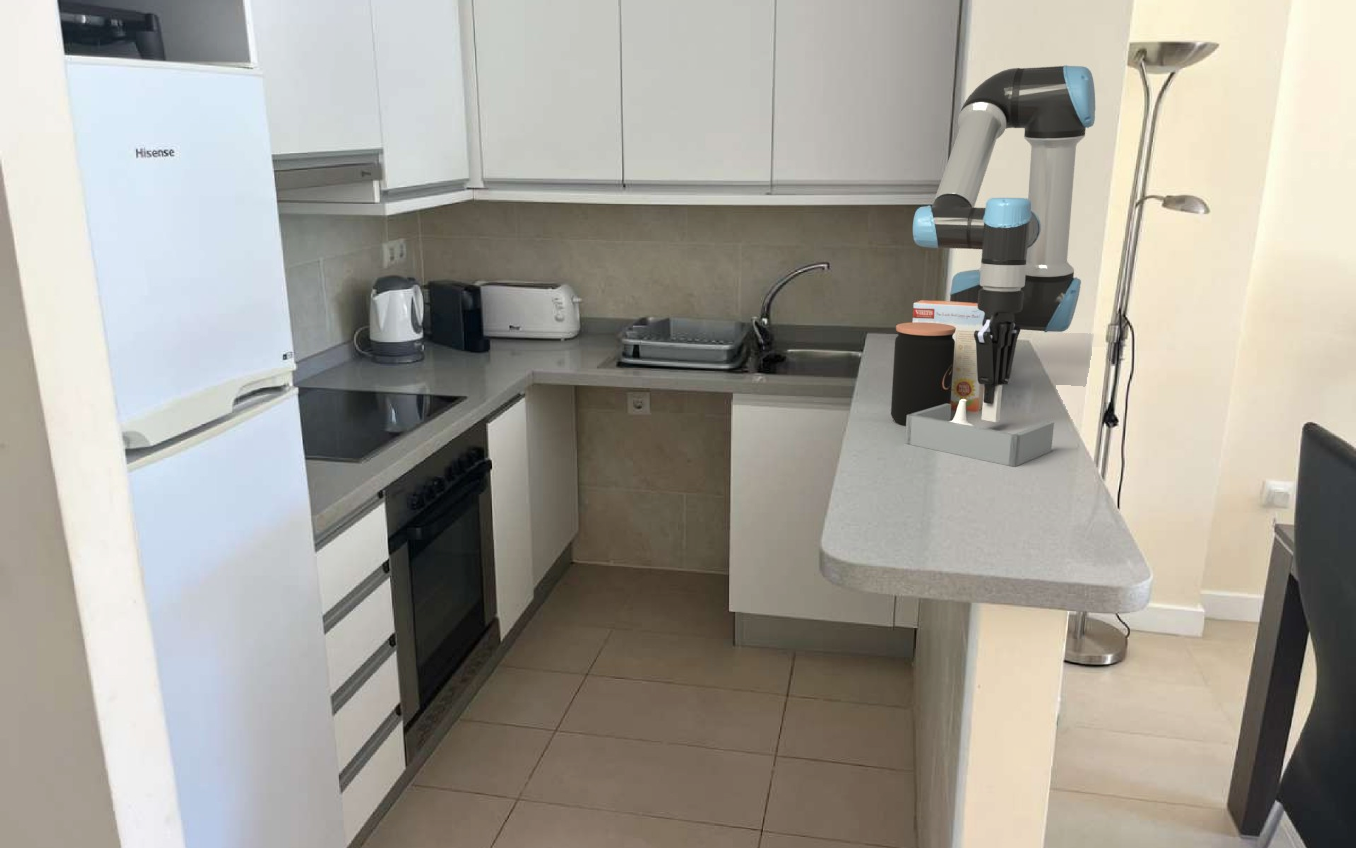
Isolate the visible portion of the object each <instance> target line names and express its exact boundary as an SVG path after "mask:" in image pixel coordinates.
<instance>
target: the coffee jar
mask: <svg viewBox="0 0 1356 848" xmlns="http://www.w3.org/2000/svg"><path fill="white" fill-rule="evenodd" d="M912 322H913V321H912ZM912 322H903V323H898V324H897V325H896V326H895V330H896V332H897V336H896V337H895V339H894V353H893V371H892V388H891V389H892V390H891V404H890V407H891V408H890V416H891V417H892V419H893V421H894V423H896V424H897V425H900V426H902V427H906V421H907V415H909V414H912V413H915V412H919V411H922V410H926V409H929V408H932V407H936V406H939V405H943V404H946V403H947V404H951V390H952V376H953V362H954V349H955V340H954V339H953V338H952V337H953V334H954V333H955V331H956V328H955V327H954V326H951V325H947V324H939V323H925V322H913V323H912Z"/></svg>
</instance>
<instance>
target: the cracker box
mask: <svg viewBox="0 0 1356 848" xmlns="http://www.w3.org/2000/svg"><path fill="white" fill-rule="evenodd" d="M977 306H978V303H967V302H952V301H950V300H949V301H947V300H928V299H927V300H926V299H925V300H924V299H920V300H918V301H915V302H914V303H913V305H912V307H913V308H912V309H913V311H912V322H911V323H913V322H925V323H939V324H947V325H951V326H954V327H955V328H956V331H955V333H954V334H953V337H952V338H953V339H954V340H955V349H954V362H953V376H952V390H951V410H957V407H958V404H959V401H960V400H961V399H965V400H967V401H966V410H967V411H966V412H968V411H969V412H975V413H976V412H977V413H978V412H980V411H981V410H982V407H983V394H984V384H979V382H978V377H977V354H976V342H975V338H974V332H975V331H980V330H981V329H982V328H983V326H982V322H983V319H984V315H985V313H984V311H981V310H979V309H978V307H977Z"/></svg>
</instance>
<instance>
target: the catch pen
mask: <svg viewBox="0 0 1356 848" xmlns="http://www.w3.org/2000/svg"><path fill="white" fill-rule="evenodd" d="M951 412H952V409H951V404H947V403H946V404H943V405H939V406H936V407H932V408H929V409H926V410H922V411H919V412H915V413H912V414H909V415H907V421H906V426H905V437H904V438H905V439H904V440H905V441H904V444H906V445H911V446H916V447H919V448H925V449H930V450H934V451H940V452H943V453H948V454H953V455H957V456H963V457H967V458H972V459H977V460H980V461H986V462H991V463H995V464H1000V465H1004V466H1009V467H1015V468H1016V467H1017V466H1020V465H1022V464H1025V463H1027V462H1030V461H1032V460H1035V459H1037V458H1039V457H1041V456H1044V455H1047V454H1049V453H1052V447H1053V438H1054V437H1053V436H1054V429H1055V422H1053V421H1047V422H1043V423H1040V424H1038V425H1035V426H1032V427H1030V428H1027V429H1025V430H1021V431H1018V432H1017V433H1012V432H1011V433H1010V432H1005V431H1000V430H996V429H990V428H984V427H980V426H974V425H973V426H970V425H964V424H959V423H954V422H949V421H951V415H952V413H951Z"/></svg>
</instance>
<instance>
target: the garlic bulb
mask: <svg viewBox="0 0 1356 848" xmlns="http://www.w3.org/2000/svg"><path fill="white" fill-rule="evenodd" d="M966 401H967V400H965V399H961V400H960V401H959V404H958V407H957V409H956V411H955V414H954V417H953V419H952V420H950V421H949V422H954V423H959V424H964V425H970V426H974V425H973V424H972V423H970V422H969V421H968V420H967V411H966Z"/></svg>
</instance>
